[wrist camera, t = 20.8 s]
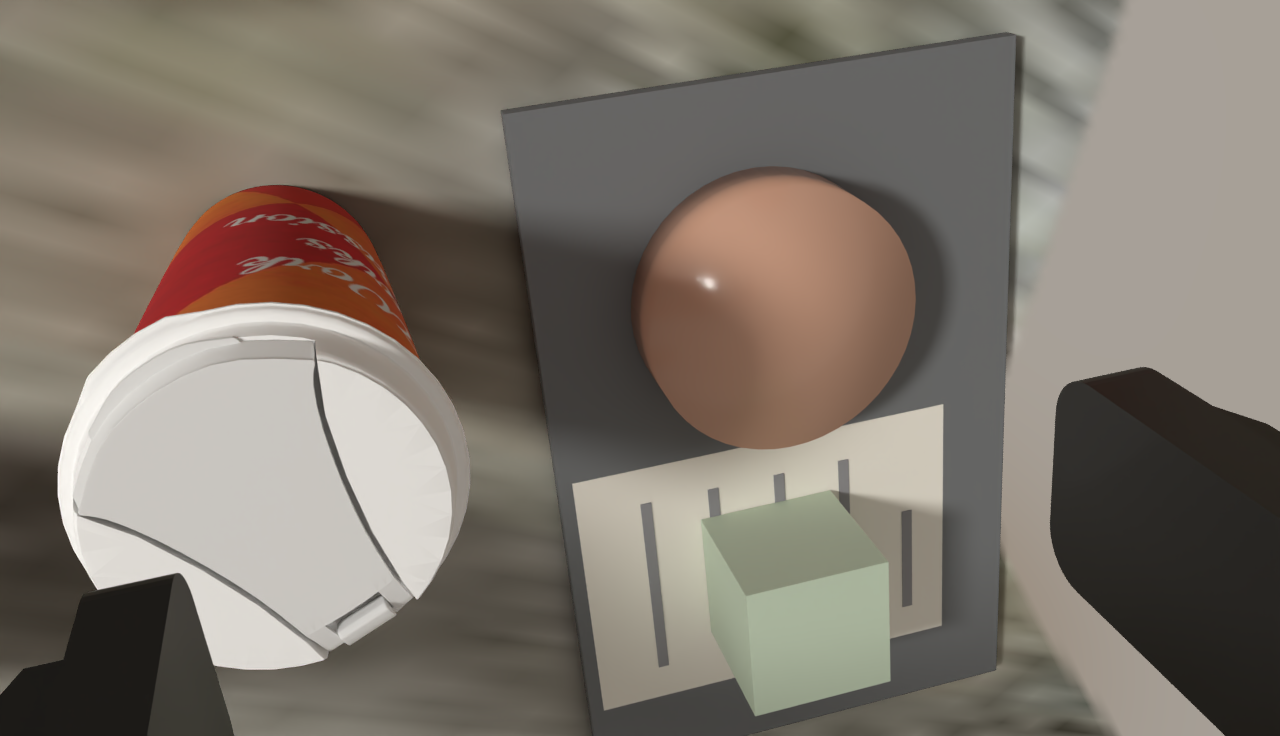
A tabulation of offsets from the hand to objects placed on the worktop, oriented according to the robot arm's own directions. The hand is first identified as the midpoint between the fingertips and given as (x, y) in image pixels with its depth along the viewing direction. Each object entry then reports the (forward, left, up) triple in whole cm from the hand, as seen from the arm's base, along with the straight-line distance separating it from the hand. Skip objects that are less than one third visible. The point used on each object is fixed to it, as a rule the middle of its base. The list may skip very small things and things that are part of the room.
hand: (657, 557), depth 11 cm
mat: (+11, -15, -28) cm, 34 cm away
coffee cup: (-5, -6, -28) cm, 29 cm away
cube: (+10, -20, -27) cm, 35 cm away
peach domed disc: (+10, -9, -28) cm, 31 cm away
